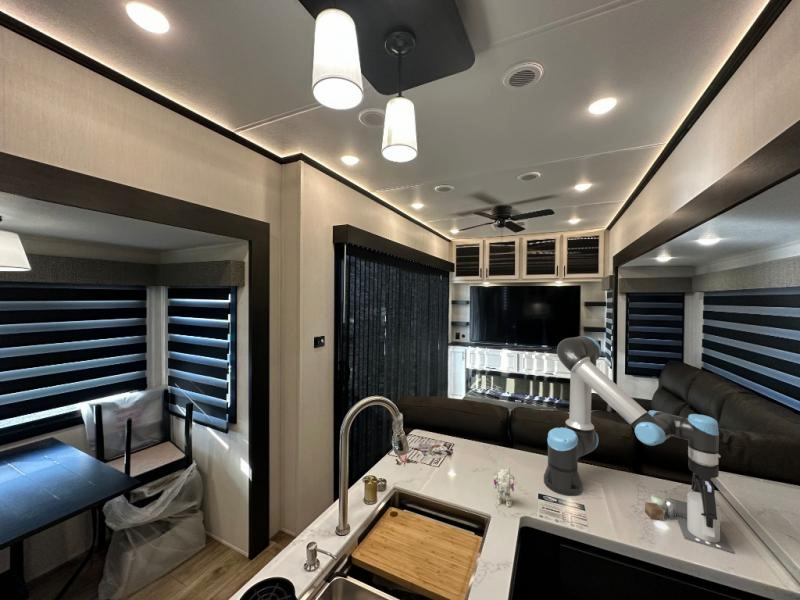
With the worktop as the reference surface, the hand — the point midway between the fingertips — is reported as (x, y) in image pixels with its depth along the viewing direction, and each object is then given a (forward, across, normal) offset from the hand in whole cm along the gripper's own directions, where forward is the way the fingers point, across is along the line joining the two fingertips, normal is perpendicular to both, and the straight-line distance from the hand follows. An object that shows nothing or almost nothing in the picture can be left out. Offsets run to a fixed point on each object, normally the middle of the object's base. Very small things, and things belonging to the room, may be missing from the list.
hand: (703, 524), depth 108 cm
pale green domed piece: (+3, +10, +11) cm, 16 cm away
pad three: (+3, 0, 0) cm, 3 cm away
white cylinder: (+3, 0, 0) cm, 3 cm away
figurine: (+4, -20, +63) cm, 66 cm away
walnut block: (+4, +2, +13) cm, 14 cm away
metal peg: (+3, +6, +8) cm, 10 cm away
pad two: (+3, +13, 0) cm, 13 cm away
